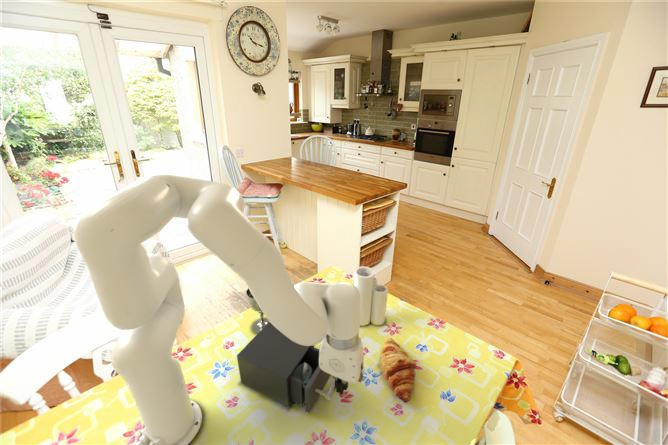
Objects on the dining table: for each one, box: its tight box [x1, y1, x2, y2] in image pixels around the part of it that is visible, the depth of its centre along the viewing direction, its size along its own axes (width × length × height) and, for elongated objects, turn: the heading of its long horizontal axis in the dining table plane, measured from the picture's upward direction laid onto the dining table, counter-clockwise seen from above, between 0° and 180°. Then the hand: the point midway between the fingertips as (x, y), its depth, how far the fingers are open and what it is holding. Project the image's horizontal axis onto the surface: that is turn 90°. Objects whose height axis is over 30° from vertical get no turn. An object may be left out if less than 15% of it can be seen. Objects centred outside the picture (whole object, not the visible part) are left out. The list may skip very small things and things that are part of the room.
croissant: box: [378, 337, 417, 404], centre depth 83 cm, size 21×10×8 cm, turn 3°
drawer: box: [288, 346, 336, 415], centre depth 77 cm, size 19×12×9 cm, turn 64°
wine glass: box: [245, 287, 270, 335], centre depth 96 cm, size 8×8×15 cm
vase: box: [353, 265, 389, 327], centre depth 100 cm, size 11×7×20 cm, turn 95°
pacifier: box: [291, 362, 312, 388], centre depth 78 cm, size 7×6×6 cm
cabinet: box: [236, 322, 315, 409], centre depth 80 cm, size 16×14×11 cm
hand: (341, 388), depth 73 cm, fingers closed
